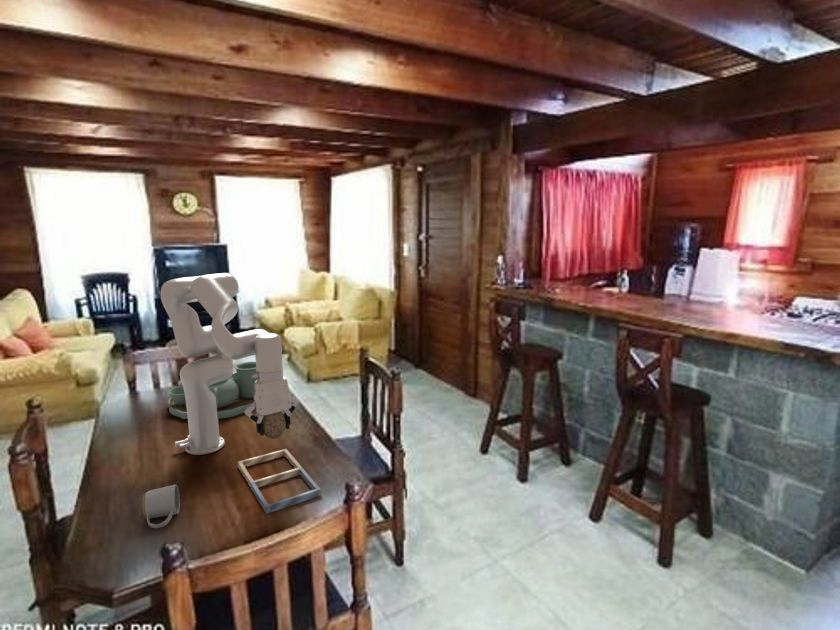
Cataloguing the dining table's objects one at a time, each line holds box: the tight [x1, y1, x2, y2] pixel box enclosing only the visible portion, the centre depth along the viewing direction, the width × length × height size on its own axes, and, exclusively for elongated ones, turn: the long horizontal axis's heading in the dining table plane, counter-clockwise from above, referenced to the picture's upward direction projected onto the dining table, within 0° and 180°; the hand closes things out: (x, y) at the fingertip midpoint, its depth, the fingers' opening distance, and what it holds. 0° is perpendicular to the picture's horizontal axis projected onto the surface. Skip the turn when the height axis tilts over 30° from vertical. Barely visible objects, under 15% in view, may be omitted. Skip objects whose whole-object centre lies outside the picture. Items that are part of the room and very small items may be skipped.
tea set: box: [167, 361, 257, 420], centre depth 208 cm, size 40×40×16 cm
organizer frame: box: [237, 448, 322, 515], centre depth 148 cm, size 16×30×2 cm, turn 34°
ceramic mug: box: [141, 484, 181, 529], centre depth 129 cm, size 11×8×8 cm
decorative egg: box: [262, 412, 286, 440], centre depth 145 cm, size 7×7×10 cm
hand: (274, 430), depth 146 cm, fingers closed on decorative egg, 7 cm apart
